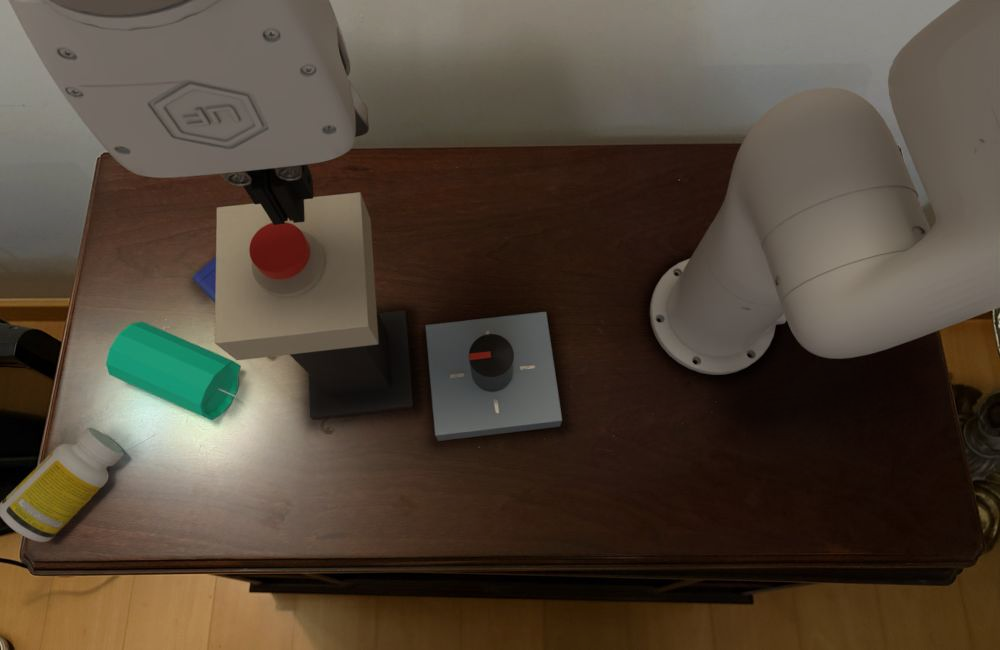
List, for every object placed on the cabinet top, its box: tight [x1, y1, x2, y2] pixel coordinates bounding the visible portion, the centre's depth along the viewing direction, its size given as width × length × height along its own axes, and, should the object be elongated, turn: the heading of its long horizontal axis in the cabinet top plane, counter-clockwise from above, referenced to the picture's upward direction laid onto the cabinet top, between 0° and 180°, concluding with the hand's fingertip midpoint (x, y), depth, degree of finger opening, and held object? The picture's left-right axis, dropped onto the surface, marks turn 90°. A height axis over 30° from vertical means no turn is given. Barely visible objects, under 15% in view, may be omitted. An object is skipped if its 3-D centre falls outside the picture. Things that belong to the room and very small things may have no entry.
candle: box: [105, 321, 242, 421], centre depth 68 cm, size 6×6×12 cm
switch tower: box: [214, 191, 415, 421], centre depth 59 cm, size 10×10×26 cm
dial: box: [469, 334, 514, 392], centre depth 65 cm, size 4×4×6 cm
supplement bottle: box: [0, 427, 124, 543], centre depth 65 cm, size 5×5×10 cm
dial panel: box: [424, 311, 563, 442], centre depth 69 cm, size 12×11×3 cm
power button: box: [249, 222, 310, 279], centre depth 45 cm, size 4×4×1 cm
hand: (289, 199), depth 38 cm, fingers closed
